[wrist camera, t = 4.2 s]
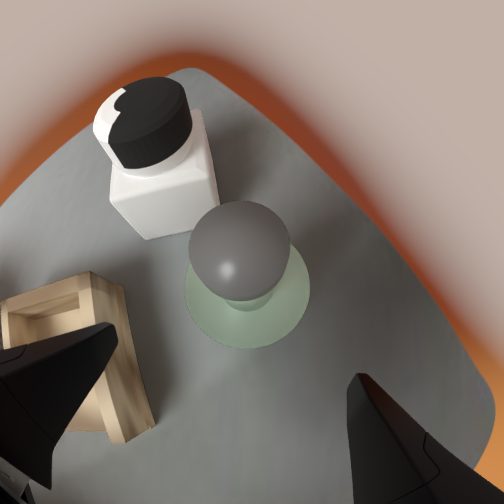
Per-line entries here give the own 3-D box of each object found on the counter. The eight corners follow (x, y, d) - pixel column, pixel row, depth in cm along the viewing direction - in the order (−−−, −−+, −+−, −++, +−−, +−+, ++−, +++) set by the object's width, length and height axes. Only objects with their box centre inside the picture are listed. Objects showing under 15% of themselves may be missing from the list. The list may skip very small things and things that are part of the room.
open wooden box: (155, 425, 18) (129, 442, 13) (53, 427, 17) (20, 435, 12) (123, 286, 22) (92, 269, 17) (32, 312, 21) (-2, 301, 16)
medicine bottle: (212, 160, 26) (189, 55, 14) (224, 224, 23) (196, 119, 12) (143, 177, 25) (92, 86, 14) (145, 242, 23) (70, 159, 12)
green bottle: (297, 330, 20) (373, 294, 6) (234, 358, 20) (180, 380, 6) (269, 270, 22) (284, 142, 8) (208, 296, 21) (126, 204, 8)
